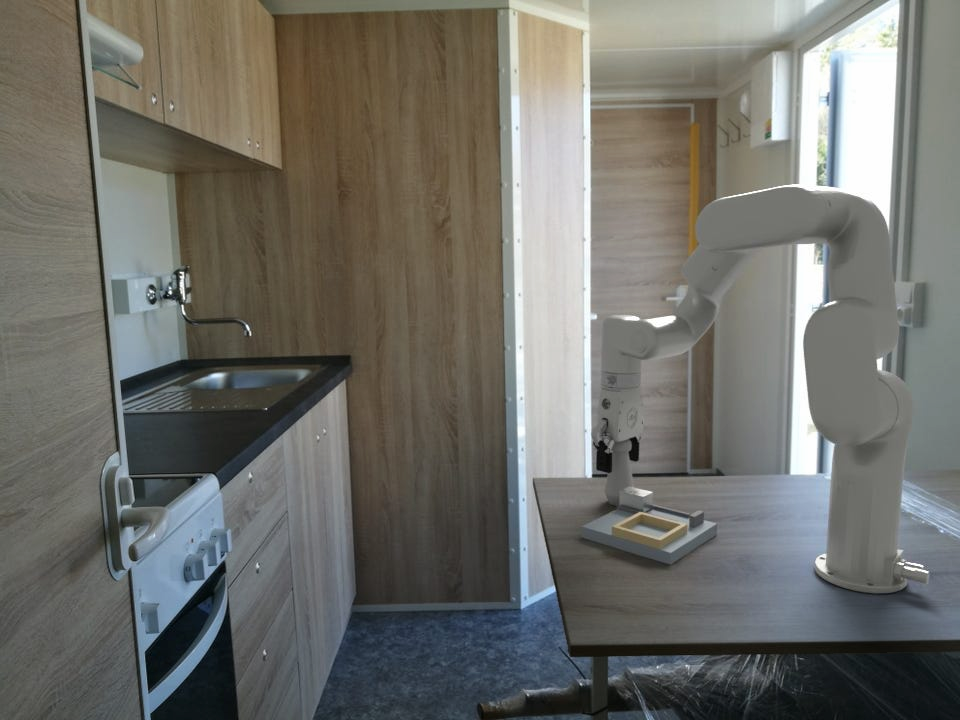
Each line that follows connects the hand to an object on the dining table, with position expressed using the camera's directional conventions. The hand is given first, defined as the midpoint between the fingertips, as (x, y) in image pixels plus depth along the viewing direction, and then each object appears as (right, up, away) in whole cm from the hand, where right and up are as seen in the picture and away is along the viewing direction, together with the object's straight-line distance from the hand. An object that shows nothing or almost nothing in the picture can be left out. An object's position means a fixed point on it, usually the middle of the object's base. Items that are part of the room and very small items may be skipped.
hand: (617, 465), depth 146 cm
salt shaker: (0, -8, +1) cm, 8 cm away
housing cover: (+2, -6, -8) cm, 11 cm away
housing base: (+3, -10, -16) cm, 19 cm away
